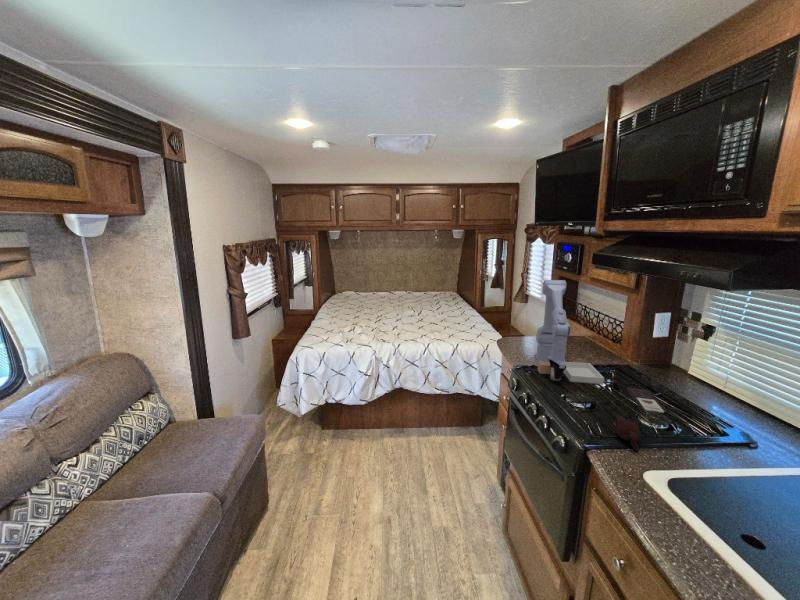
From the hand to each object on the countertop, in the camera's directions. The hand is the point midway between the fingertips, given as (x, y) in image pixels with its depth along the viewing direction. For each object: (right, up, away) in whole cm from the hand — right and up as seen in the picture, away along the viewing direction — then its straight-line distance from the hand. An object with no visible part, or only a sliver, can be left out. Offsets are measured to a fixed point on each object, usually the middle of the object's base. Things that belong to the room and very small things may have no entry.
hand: (555, 376), depth 151 cm
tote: (+14, 0, +4) cm, 14 cm away
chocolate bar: (+28, -6, -18) cm, 34 cm away
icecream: (+4, -11, -41) cm, 43 cm away
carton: (-2, 0, +8) cm, 8 cm away
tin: (0, -1, 0) cm, 1 cm away
